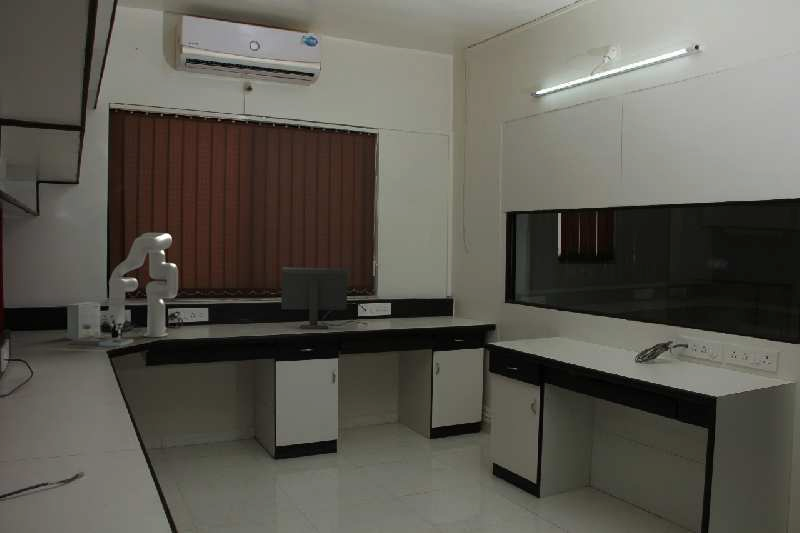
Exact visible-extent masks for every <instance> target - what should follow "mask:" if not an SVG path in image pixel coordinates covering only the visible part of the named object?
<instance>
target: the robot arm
mask: <svg viewBox="0 0 800 533" xmlns="http://www.w3.org/2000/svg"><path fill="white" fill-rule="evenodd" d="M172 242H173V239H172V236H171V234H169V233H165V232H164V233H163V232H146V233H145V232H144V233H142V234H141V236H138V237H136V238H135V240H134V241H133V243H132V245H131V249H130V251H129V253H128V255H127V258H126V259H125V260H123V261H122V262H120V263H119V264H118V265H117V266H116V267H115V268H114V269H113V271H112V273H111V275H110V277H109V278H110V279H109V282H108V285H109V289H108V290H109V297H108V298H109V301H108V302H109V303H108V304H109V305H108V309H107V310H108V311H107V324H108V325H109V327H110V330H111V337H112V338H118V330H117V328H118V325H121V329H120V333H121V335H120V338H122V337H123V326H124V324H125V321H126V308H125V307H126V306H125V305H126V292H134V291H136V290H137V289H138V287H139V282H138V280H137V279H136V278H134V277H129V276H128V277H127V276H126V277H125V276H124V275H125V274H127V273H129V272H130V271H133V270H135V269H138V268H140V267H142V266H143V265H144V262H145V260H146V257H147V254H148V258H149V259H148V260H149V261H148V262H149V266H148V267H149V268H148V269H149V272H148V273H149V276H150V278H151V279H155V280H158V281H155V280H154V281H149V283H147V285H146V287H145V293H146V298H147V321H146V323H147V325H146V326H147V330H146V333H144V334H143V335H144V337H146V338H160V337H162V338H163V337H167V336H169V335H168V334H169V333H167V332H166V331H167V327H166V303H165V301H164V300H163V299H174V298H175V297H177V295H178V290H179V287H178V286H179V269H178V266H177V265H176V264H175V263H171V262H166V253H165V251H164V250H167V249H169V248H170V247H171V245H172ZM160 280H166V281H160ZM115 325H116V327H115Z"/></svg>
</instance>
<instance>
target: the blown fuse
mask: <svg viewBox="0 0 800 533" xmlns="http://www.w3.org/2000/svg"><path fill="white" fill-rule="evenodd" d="M115 327H116V325H115ZM120 329H121V325H119V324H118V328H117V330H118V338H113V342H112V343H122V342H121V339H122V338H121V337H120V335H121V333H120Z"/></svg>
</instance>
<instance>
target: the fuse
mask: <svg viewBox="0 0 800 533" xmlns="http://www.w3.org/2000/svg"><path fill="white" fill-rule="evenodd" d="M90 330H91V325H83V339H91V338H90Z"/></svg>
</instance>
